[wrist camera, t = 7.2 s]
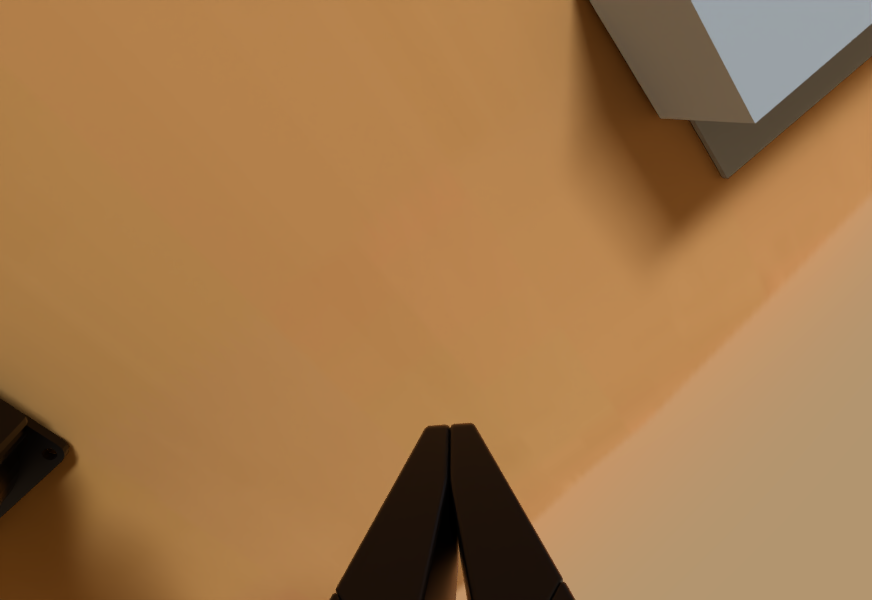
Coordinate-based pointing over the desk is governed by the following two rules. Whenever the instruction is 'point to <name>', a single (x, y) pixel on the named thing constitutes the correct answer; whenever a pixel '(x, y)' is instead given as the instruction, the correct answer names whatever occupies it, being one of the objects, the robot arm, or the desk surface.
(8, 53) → the desk surface
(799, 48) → the slate block
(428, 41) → the desk surface
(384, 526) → the robot arm
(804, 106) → the rubber mat
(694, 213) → the desk surface
